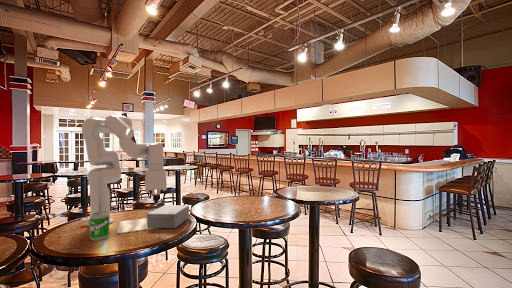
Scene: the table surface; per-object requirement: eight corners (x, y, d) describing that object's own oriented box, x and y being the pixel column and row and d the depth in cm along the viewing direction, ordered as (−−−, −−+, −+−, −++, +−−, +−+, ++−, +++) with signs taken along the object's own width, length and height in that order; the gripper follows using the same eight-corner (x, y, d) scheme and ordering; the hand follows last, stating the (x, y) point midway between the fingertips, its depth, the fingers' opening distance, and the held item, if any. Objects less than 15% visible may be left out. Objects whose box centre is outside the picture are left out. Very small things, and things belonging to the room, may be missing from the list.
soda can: (92, 237, 118) (92, 212, 118) (110, 234, 121) (110, 210, 121) (88, 242, 111) (87, 216, 111) (107, 240, 114) (106, 214, 114)
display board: (117, 234, 122) (117, 233, 122) (120, 222, 142) (120, 221, 142) (176, 225, 134) (176, 224, 134) (171, 215, 154) (171, 214, 154)
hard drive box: (174, 228, 127) (189, 217, 147) (174, 214, 127) (189, 204, 147) (146, 228, 129) (164, 217, 149) (146, 213, 129) (164, 204, 149)
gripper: (139, 168, 121) (140, 205, 121) (171, 166, 128) (172, 202, 128) (139, 167, 128) (140, 202, 128) (170, 166, 135) (170, 199, 134)
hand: (156, 202), depth 128 cm, fingers closed
